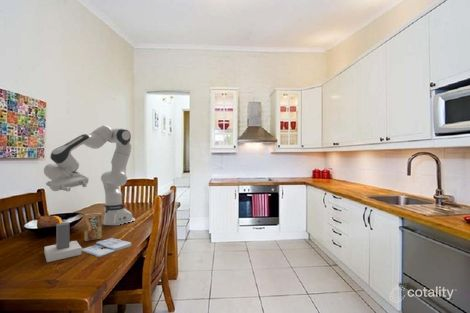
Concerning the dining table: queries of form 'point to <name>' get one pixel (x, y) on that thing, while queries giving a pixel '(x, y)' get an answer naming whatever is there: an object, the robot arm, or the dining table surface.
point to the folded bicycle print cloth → (108, 243)
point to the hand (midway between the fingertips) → (77, 188)
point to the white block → (62, 251)
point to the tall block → (62, 235)
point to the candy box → (93, 226)
